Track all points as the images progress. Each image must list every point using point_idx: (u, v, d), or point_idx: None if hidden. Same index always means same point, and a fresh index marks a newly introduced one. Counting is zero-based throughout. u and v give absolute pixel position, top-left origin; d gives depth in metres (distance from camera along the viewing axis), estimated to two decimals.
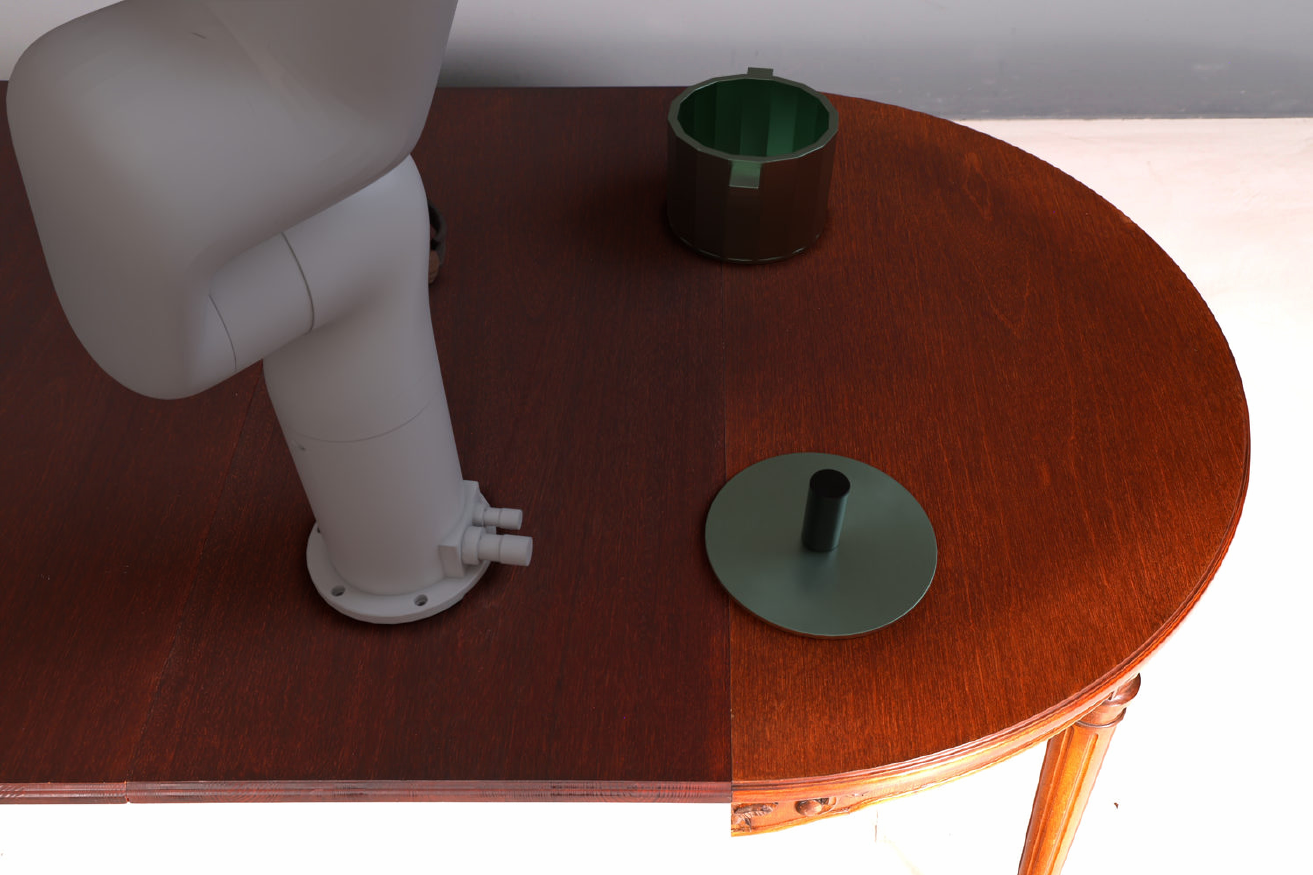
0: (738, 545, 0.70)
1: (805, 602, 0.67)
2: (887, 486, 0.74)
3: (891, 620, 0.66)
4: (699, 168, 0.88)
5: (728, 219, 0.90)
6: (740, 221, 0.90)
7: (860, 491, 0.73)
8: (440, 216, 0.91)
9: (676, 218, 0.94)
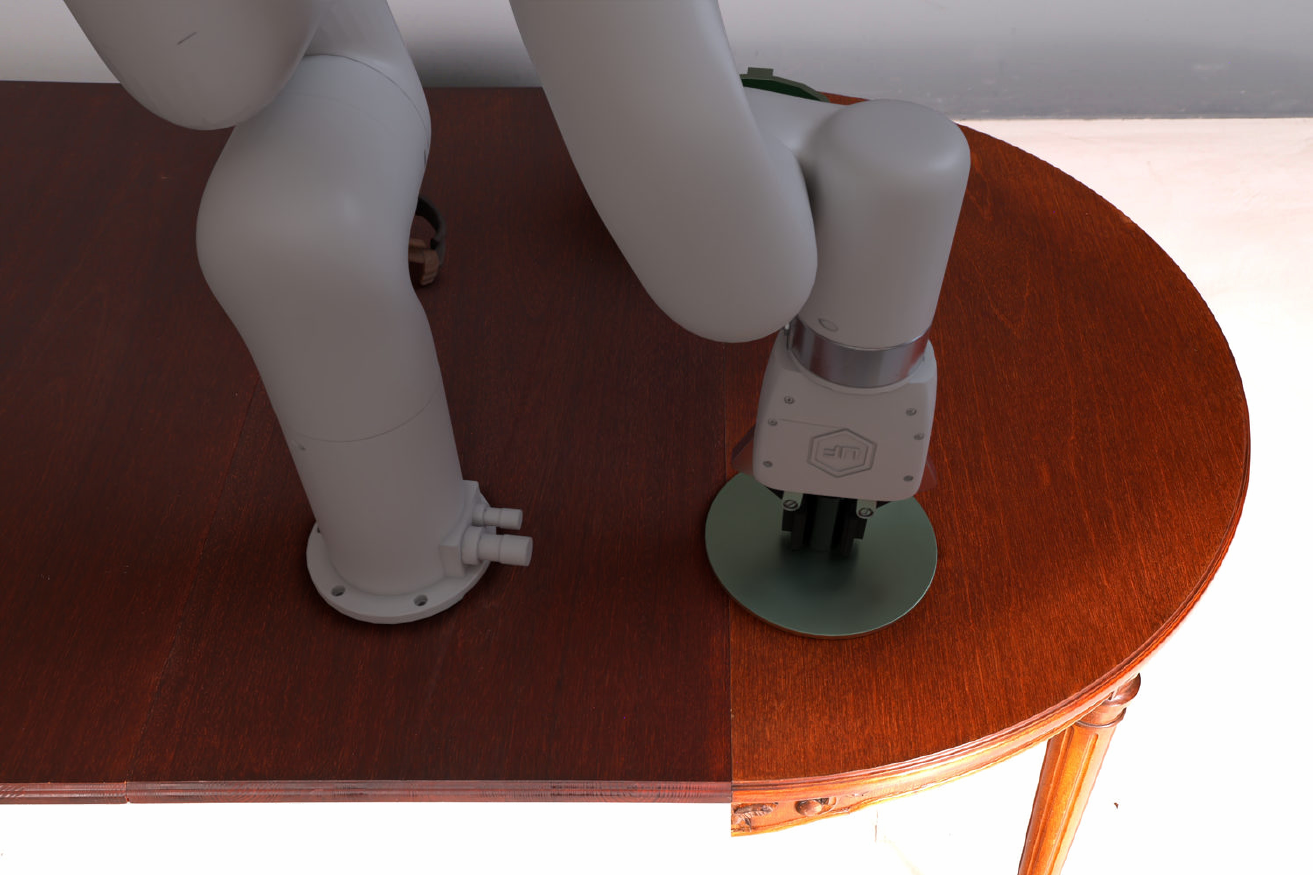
0: (738, 545, 0.70)
1: (805, 602, 0.67)
2: None
3: (891, 620, 0.66)
4: None
5: None
6: None
7: None
8: (440, 215, 0.91)
9: None
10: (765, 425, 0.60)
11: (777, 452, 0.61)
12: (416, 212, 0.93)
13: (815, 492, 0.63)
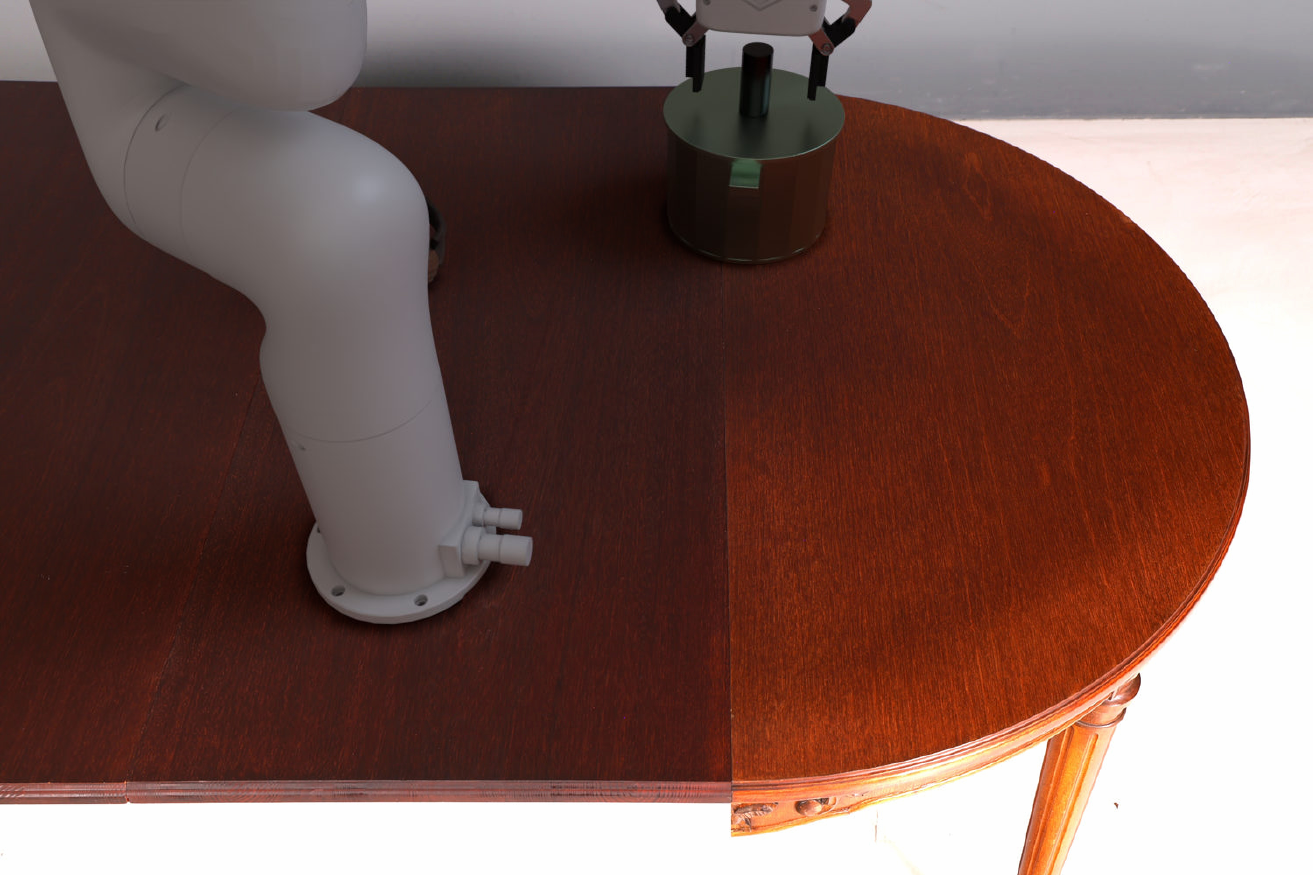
0: (689, 114, 0.90)
1: (739, 143, 0.86)
2: None
3: (805, 151, 0.85)
4: (699, 168, 0.88)
5: (728, 219, 0.90)
6: (740, 221, 0.90)
7: (787, 86, 0.93)
8: (440, 215, 0.91)
9: (676, 218, 0.94)
10: None
11: None
12: None
13: (744, 29, 0.82)
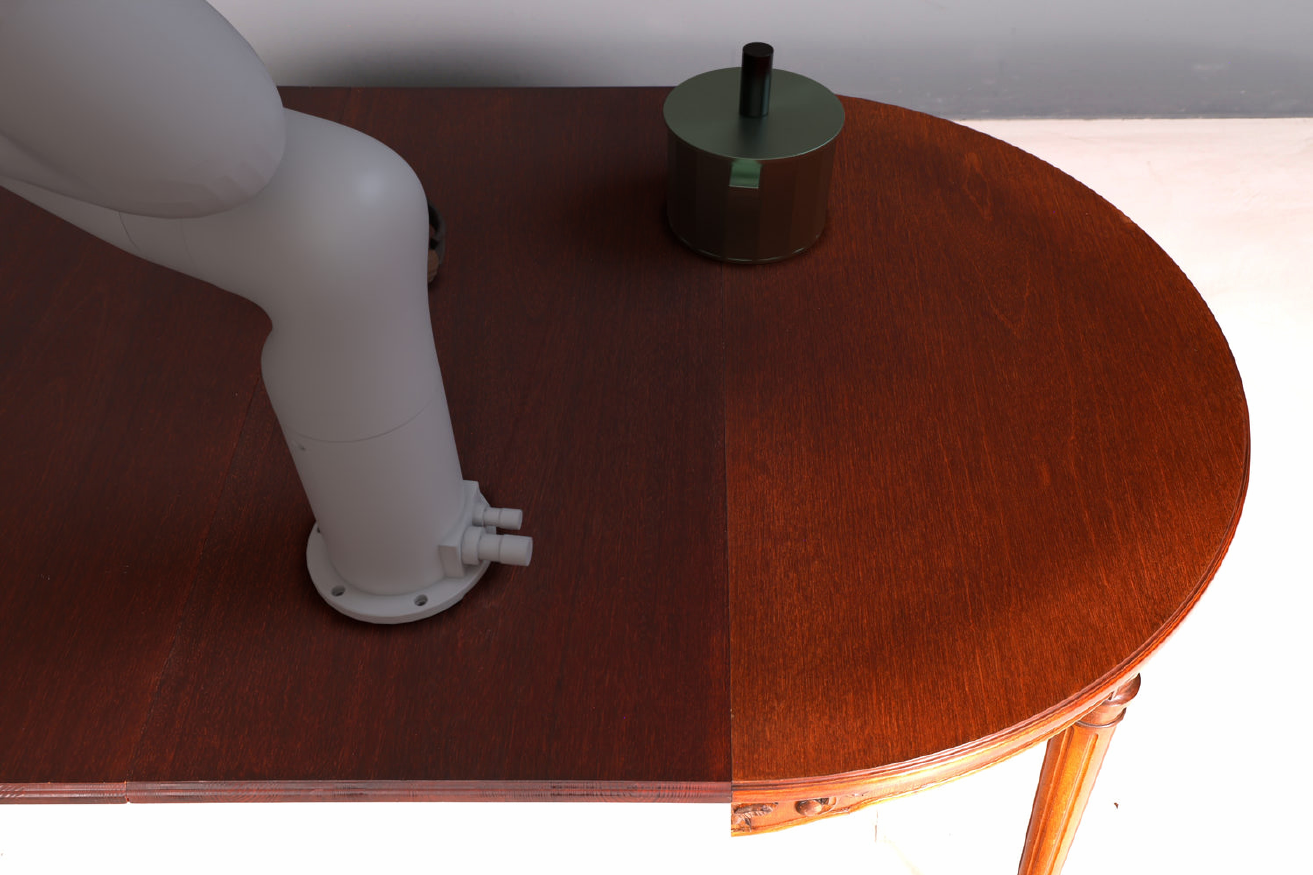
0: (689, 114, 0.90)
1: (739, 143, 0.86)
2: (809, 84, 0.93)
3: (805, 151, 0.85)
4: (699, 168, 0.88)
5: (728, 219, 0.90)
6: (740, 221, 0.90)
7: (787, 86, 0.93)
8: (439, 215, 0.91)
9: (676, 218, 0.94)
10: None
11: None
12: None
13: None
